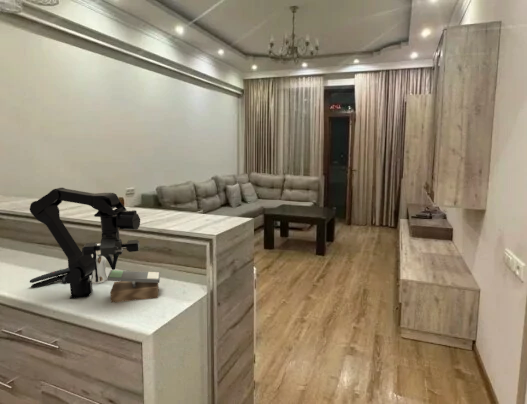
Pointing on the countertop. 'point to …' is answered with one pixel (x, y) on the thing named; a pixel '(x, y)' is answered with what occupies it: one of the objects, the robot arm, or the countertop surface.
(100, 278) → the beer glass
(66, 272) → the can opener
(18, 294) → the countertop surface
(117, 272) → the grey flat panel
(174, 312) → the countertop surface
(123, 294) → the switch base
